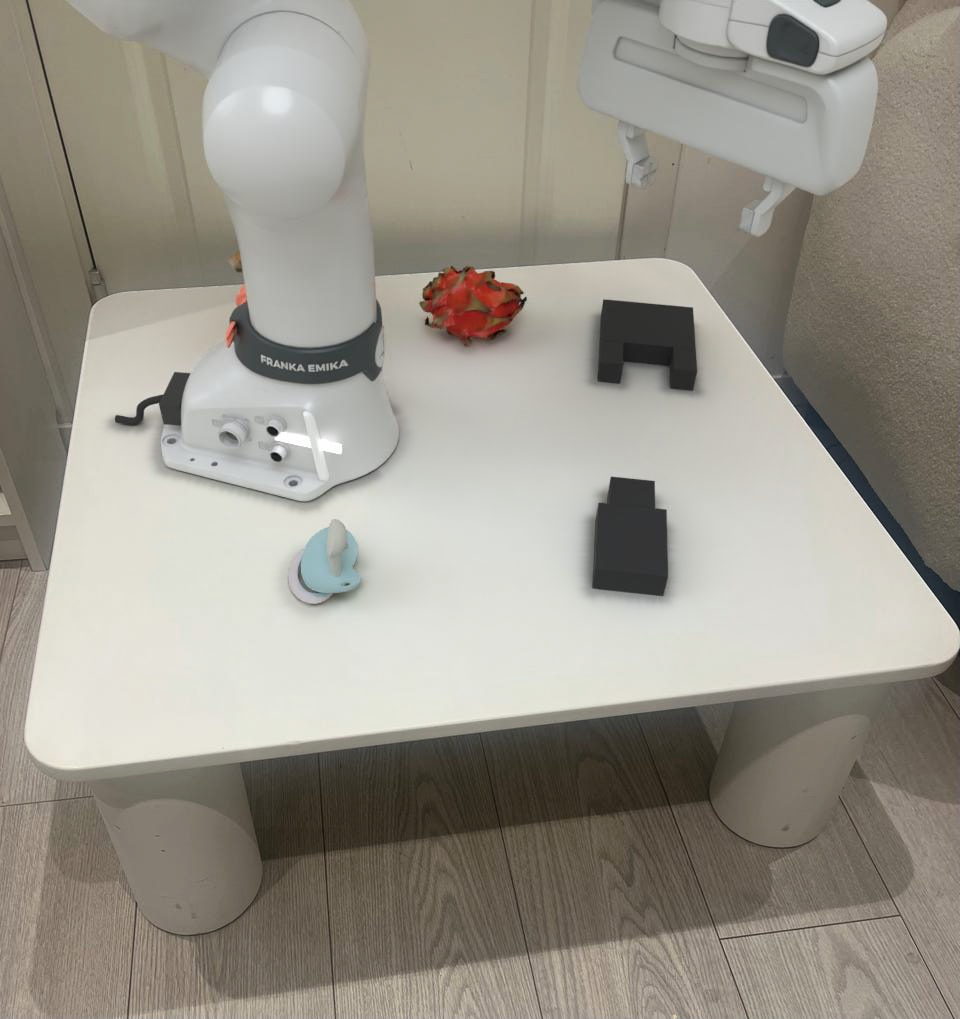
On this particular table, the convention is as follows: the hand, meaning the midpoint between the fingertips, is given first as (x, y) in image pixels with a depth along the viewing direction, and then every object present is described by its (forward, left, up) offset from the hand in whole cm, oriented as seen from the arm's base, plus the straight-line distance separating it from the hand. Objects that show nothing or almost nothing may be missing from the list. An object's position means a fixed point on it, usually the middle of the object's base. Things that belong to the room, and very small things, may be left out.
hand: (694, 206), depth 71 cm
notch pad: (+1, +26, -30) cm, 40 cm away
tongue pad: (-1, -4, -30) cm, 31 cm away
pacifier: (-26, -11, -31) cm, 42 cm away
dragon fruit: (-18, +27, -31) cm, 44 cm away
